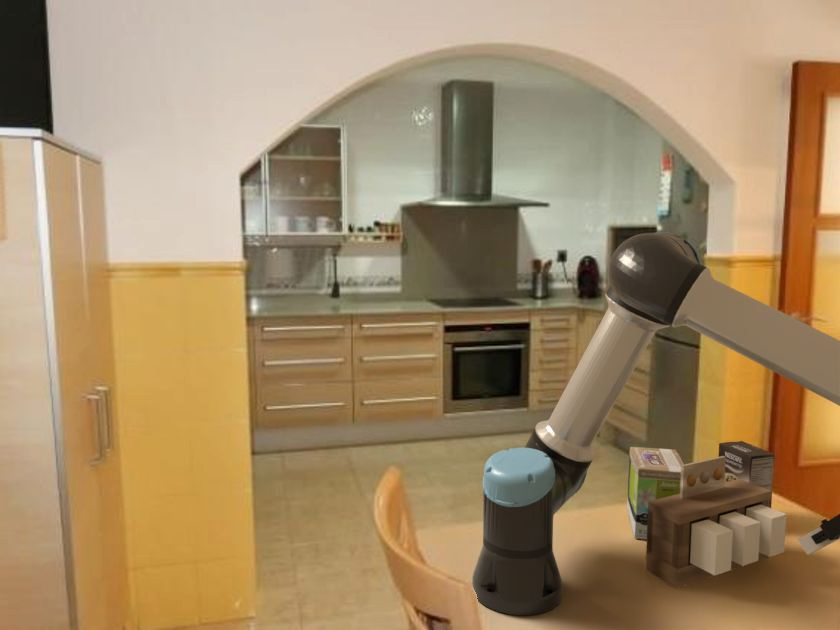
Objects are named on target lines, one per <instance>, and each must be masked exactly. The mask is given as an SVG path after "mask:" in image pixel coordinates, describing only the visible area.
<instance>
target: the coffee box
mask: <svg viewBox="0 0 840 630" xmlns="http://www.w3.org/2000/svg"><path fill="white" fill-rule="evenodd" d="M775 455H776V454H775V453H774V452H771V451H768V450H766V449H763V448H760V447H758V446H755V445H753V444H750V443H747V442H745V441H743V440H740V441H726V442H719V443H718V455H717V457H720V456H725V457H726V461H725V480H724V482H728V481H732V480H736V479H741V480H744V481H746V482H749V483H752V484H755V485H757V486H760V487H763V488H765V489H768V490H771V491H772V492H773V478H774V477H773V476H774V467H775V466H774V465H775Z"/></svg>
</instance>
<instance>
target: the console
mask: <svg viewBox="0 0 840 630" xmlns="http://www.w3.org/2000/svg"><path fill="white" fill-rule="evenodd" d="M725 461H726V457H725V456H720V457H718V456H715V457H713V458H707V459H703V460H698V461H693V462H690V463H684V464H685V465H681V480H680V494H677V495H673V496H669V497H665V498H661V499H657V500H653V501H649V502H648V523H647V540H646V553H645V572H647V573H648V574H650V575H652V576H654V577H655V578H658V579H659V580H661V581H662V582H665V583H666V584H668V585H669V586H671V587H673V588H674V589H680V588H683V587H686V586H689V585H691V584H695V583H698V582H700V581H703V580H706V579H710V578H712V577H715V576H718V575H720V574H718V575H715V576H714V575H712V574H710V573H709V572H707V571H705V570H703V569H701V568H699V567H697V566H695V565H693V564H692V563H690V551H691V529H692V524H693V523H697V522H700V521H704V520H707V519H708V520H711V521H713V522H715V523H717V524H719V521H720V516H721V515H725V514H728V513H732V512H737V513H740V514H742V515H744V516H746V508H750V507H753V506H757V505H760V504H761V505H764V506H767V507H769V508H772V499H773V490H772V491H771V490H768V489H765V488H763V487H760V486H757V485H755V484H752V483H749V482H746V481H744V480H741V479H736V480H732V481H728V482H724V480H725ZM768 558H769V556H766V555H764V554H762V553H760V552H759V556H758V561H756V562H753V563H757V562H760V561H763V560H765V559H768ZM753 563H750V564H747V565H744V566H748V565H751V564H753ZM744 566H742V565H740V564H738V563H736V562H734V561H732V560H731V570H730V571H733V570H735V569H739V568H742V567H744Z"/></svg>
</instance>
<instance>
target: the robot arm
mask: <svg viewBox="0 0 840 630" xmlns="http://www.w3.org/2000/svg"><path fill="white" fill-rule="evenodd" d="M608 265H609V266H608V280H609V284H610V285H609V287H608V289H607V290H606V292H605V299H606V301H607V305H608V308H607V310H606V311H605V314H604V315H603V318H602V319H601V321H600V323H599V325H598V327H597V328H596V331H595V333H594V334H593V336H592V338H591V340H590V341H589V344H588V346H587V348H586V349H585V351H584V353H583V354H582V356H581V359H580V361H579V362H578V364H577V367H576V368H575V370H574V372H573V374H572V376H571V377H570V380H569V381H568V383H567V385H566V387H565V388H564V391H563V392H562V394H561V396H560V398H559V400H558V402H557V403H556V406H555V407H554V410H553V411H552V413H551V415H550V417H549V419H547V420H542V421H540V422H539V421H538V423H536V425H535V427H534V428H533V431H532V433H531V435H530V436H529V439H527V442H526V444H525V446H524V447H510V448H509V449H508V450H507V449H506V450H505V449H501V450H499V451H498V452H496V453H493V454H492V455H491V456H489V458H488V459H487V460H486V462H485V463H484V467H483V468H484V469H483V470H484V471H483V476H482V502H483V504H482V508H483V509H482V514H483V515H482V519H483V522H482V525H483V526H482V547H481V550H480V552H479V556H478V560H477V562H476V565H475V568H474V570H473V573H472V586H473V588H474V590H475V592H476V594H477V597H478V600H479V601H478V600H477V601H478V602H479V603H480V604H482V605H484V606H485V607H487V608H489V609H491V610H493V611H496V612H499V613H502V614H507V615H514V616H531V615H533V616H534V615H538V614H543V613H546V612H549V611H551V610H553V609H554V608H556V607H557V606H558V605H559V604H560V603H561V601H562V599H563V579H562V577H561V573H560V570H559V566H558V563H557V561H556V557H555V554H554V547H553V545H554V543H553V541H554V539H553V538H554V536H553V535H554V515H555V514H556V513H558V511H559V510H560V509H561V508H562V507H563V506H564V504H566V502H568V501H569V500H570V499H571V498H572V497H573V496H574V495H576V494H577V493H578V491H580V489H581V488H582V486H583V485H584V483H585V482H586V477H587V474H588V469H589V467H590V466H591V464H592V462H593V460H594V458H595V456H596V453H595V450H594V449H595V448H594V447H593V443H594V441H595V440H596V437H597V435H598V434H599V432H600V431H601V429H602V427H603V425H604V423H605V421H606V420H607V419H608V416H609V415H610V413H611V411H612V409H613V407H614V405H615V404H616V402H617V400H618V399H619V397H620V395H621V394H622V391H623V390H624V387H626V384H627V383H628V381H629V379H630V377H631V376H632V374H633V372H634V370H635V368H636V367H637V365H638V363H639V361H640V359H642V356H643V355H644V353H645V351H646V349H647V347H648V346H649V344H650V342H651V340H652V339H653V338H654V335H655V334H656V332H657V331H659V330H662V329H665V328H669V327H672V328H678V327H683V326H684V327H685V326H686V327H688V328H690V329H691V330H693V331H695V332H697V333H699V334H701V335H703V336H705V337H707V338H709V339H711V340H713V341H715V342H716V343H718V344H719V345H722V346H724V347H726V348H728V349H730V350H732V351H734V352H736V353H737V354H739V355H741V356H744V357H745V358H746V359H749V360H751V361H753V362H755V363H756V364H759V365H761V366H762V367H764V368H766V369H768V370H770V371H772V372H774V373H776V374H778V375H779V376H782V377H784V378H785V379H787V380H789V381H791V382H793V383H795V384H797V385H799V386H801V387H803V388H804V389H807V390H809V392H812V393H814V394H817V395H818V396H819V397H821V398H824V399H825V400H828V401H830V402H831V403H833V404H835V405H837V406H839V407H840V340H839V339H837V338H836V337H833V336H831V335H829V334H827V333H825V332H823V331H821V330H820V329H817V328H815V327H814V326H811V325H810V324H807V323H805V322H802V321H800V320H798V319H797V318H794V317H793V316H791V315H788V314H786V313H784V312H782V311H780V310H778V309H776V308H774V307H772V306H770V305H768V304H766V303H764V302H761V301H759V300H758V299H756V298H754V297H752V296H750V295H747V294H745V293H743V292H741V291H739V290H738V289H735V288H733V287H731V286H729V285H728V284H725V283H722V282H721V281H719V280H717V279H715V278H714V277H713V274H712V271H711V270H710V268H709V267H707V266H705V265H703V264H702V261H701V258H700V254H699V253H698V251H697V249H696V248H695V247H694V245H693V244H692V243H691V242H690V241H688V240H686V239H685V238H683V237H682V236H680V235H677V234H675V233H672V232H667V231H659V232H647V233H646V232H645V233H640V234H636V235H633V236H631V237H628V239H626V240H624V241H623V242H621V244H619V245H618V246H617V248H616V249H615V250H614V251H613V254H612V256H611V258H610V261H609V264H608ZM820 522H821V524H820V525H819V527H817V528H816V529H814V530H812V531H810V532H808V533H807V534H805V535H803V536H801V537H799V538H797V541H798V543H799V544H800V546H801V547H802V549H803V551H804V552H805V553H806V555H808V556H809V555H810V554H813V553H815V552H817V551H819V550H822V549H823V548H825V547H827V546H829V545H831V544H834V543H835V542H837V541H838V540H840V513H838V514H837V515H836V516H834V517H832V518H830V519H829V520H828V519H827V518H824V519H822V520H820ZM472 586H471V587H472Z"/></svg>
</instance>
